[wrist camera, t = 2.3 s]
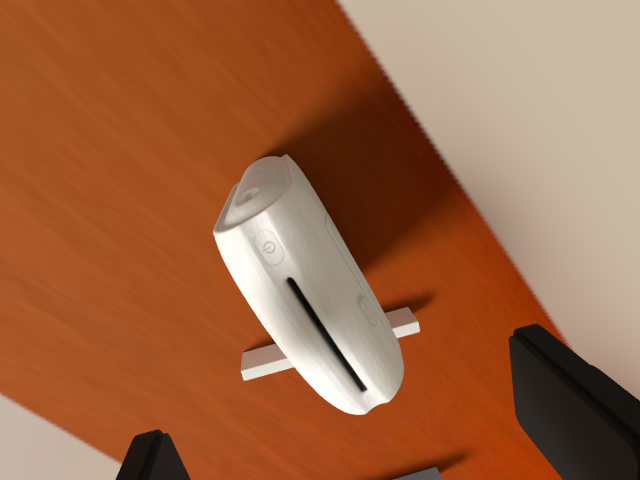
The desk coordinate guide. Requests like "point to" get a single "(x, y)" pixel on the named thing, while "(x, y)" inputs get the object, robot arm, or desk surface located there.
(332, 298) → the photo printer
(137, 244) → the desk surface
